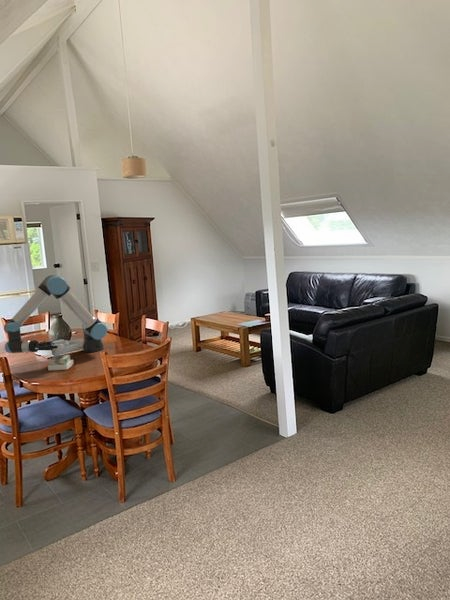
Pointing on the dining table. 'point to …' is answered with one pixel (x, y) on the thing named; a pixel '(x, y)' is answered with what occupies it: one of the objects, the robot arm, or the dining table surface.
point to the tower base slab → (61, 366)
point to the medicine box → (59, 351)
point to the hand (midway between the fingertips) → (65, 344)
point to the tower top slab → (60, 360)
